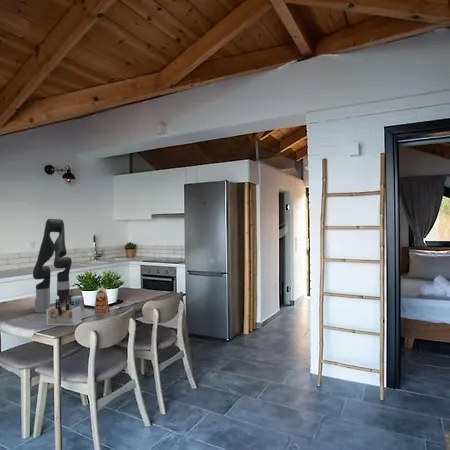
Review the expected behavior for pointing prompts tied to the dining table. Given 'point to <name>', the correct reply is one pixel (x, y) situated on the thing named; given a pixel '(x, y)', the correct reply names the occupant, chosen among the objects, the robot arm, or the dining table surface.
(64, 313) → the shelf board
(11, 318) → the dining table surface
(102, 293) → the milk carton
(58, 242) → the robot arm
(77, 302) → the light bulb box
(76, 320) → the peg frame
